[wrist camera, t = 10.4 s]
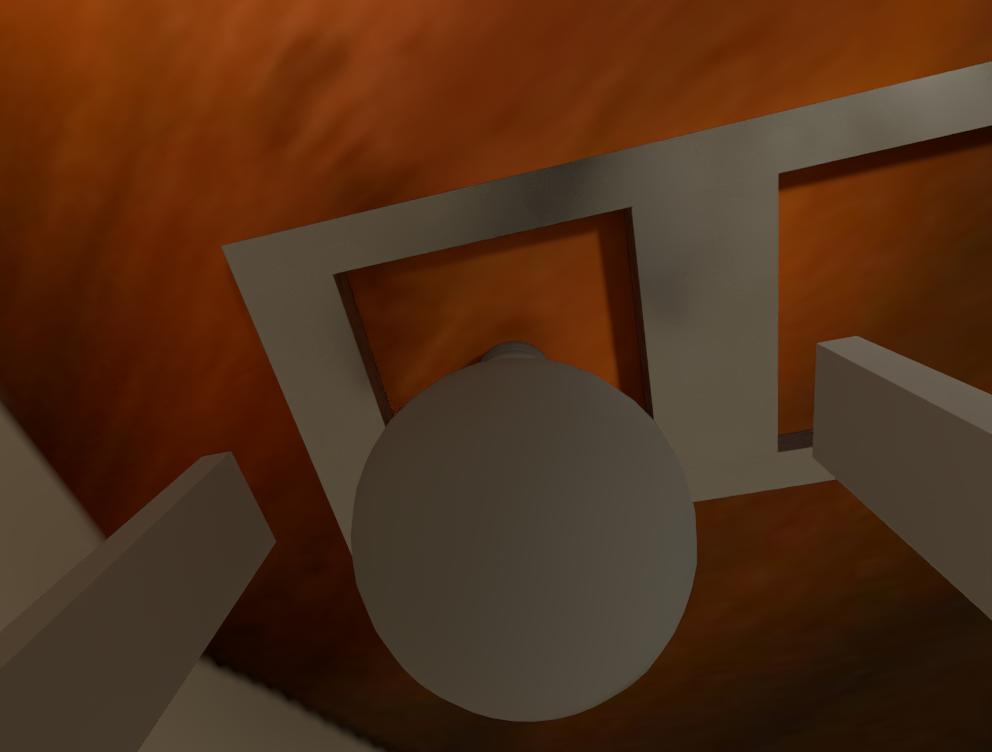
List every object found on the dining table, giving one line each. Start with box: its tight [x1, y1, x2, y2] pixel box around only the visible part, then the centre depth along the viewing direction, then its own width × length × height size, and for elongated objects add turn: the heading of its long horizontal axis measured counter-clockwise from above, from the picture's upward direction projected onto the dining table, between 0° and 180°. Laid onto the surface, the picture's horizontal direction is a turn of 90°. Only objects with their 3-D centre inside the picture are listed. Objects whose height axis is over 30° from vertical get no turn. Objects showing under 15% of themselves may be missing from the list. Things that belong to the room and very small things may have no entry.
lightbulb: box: [351, 341, 697, 721], centre depth 11 cm, size 6×6×11 cm
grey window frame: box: [221, 62, 992, 555], centre depth 15 cm, size 12×28×1 cm, turn 102°
